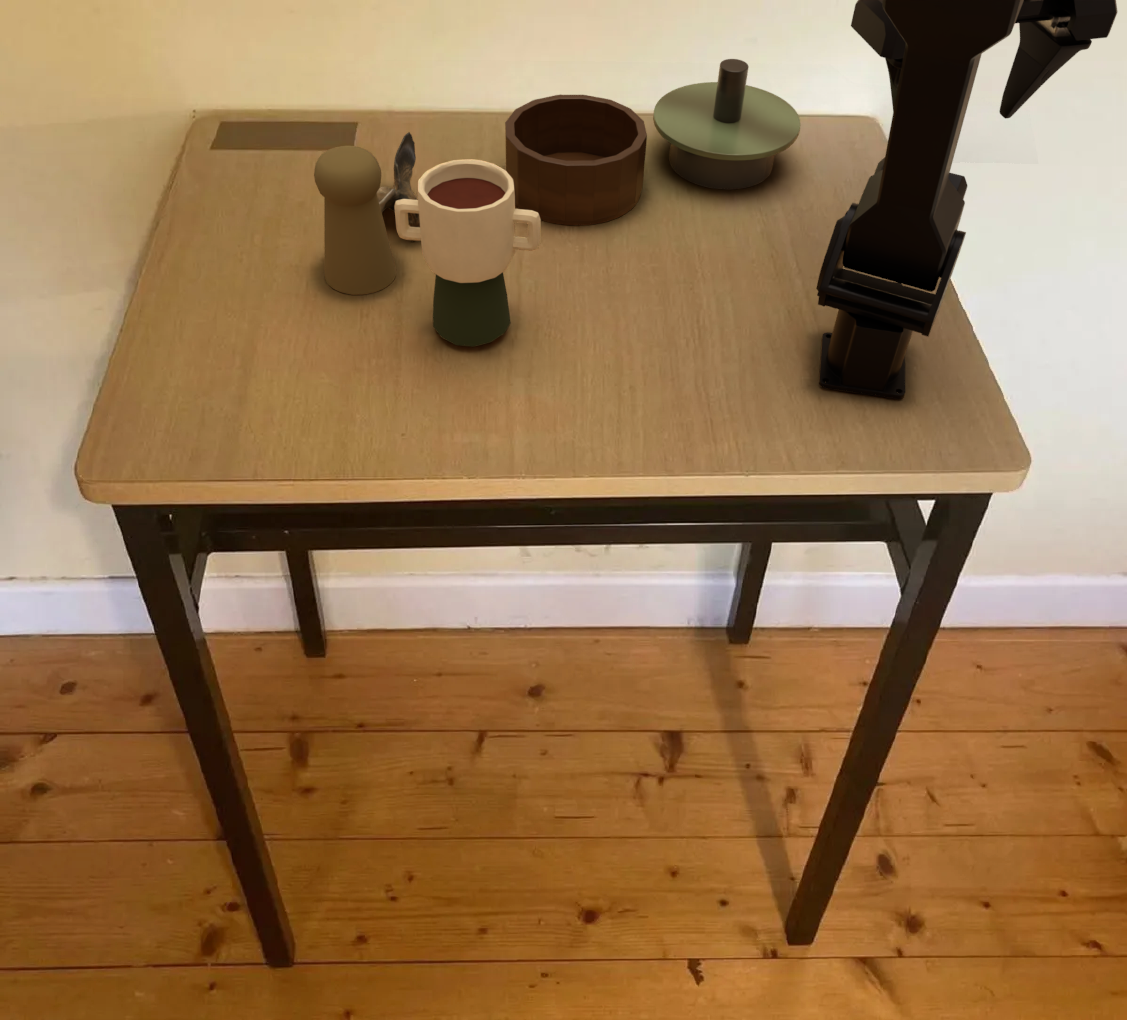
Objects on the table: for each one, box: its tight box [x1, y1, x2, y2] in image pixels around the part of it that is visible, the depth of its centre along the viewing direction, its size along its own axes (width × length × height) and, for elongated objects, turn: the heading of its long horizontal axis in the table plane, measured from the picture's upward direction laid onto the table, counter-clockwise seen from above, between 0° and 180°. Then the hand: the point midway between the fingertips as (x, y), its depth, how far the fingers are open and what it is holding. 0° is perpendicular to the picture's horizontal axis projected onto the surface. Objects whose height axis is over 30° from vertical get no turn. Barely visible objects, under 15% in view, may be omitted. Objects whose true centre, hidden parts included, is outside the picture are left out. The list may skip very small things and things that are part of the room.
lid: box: [652, 58, 802, 161], centre depth 104 cm, size 14×14×6 cm
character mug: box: [394, 158, 542, 348], centre depth 85 cm, size 11×7×13 cm, turn 83°
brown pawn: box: [313, 145, 397, 296], centre depth 91 cm, size 6×6×11 cm
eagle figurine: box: [377, 131, 420, 243], centre depth 98 cm, size 8×7×9 cm
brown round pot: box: [504, 94, 648, 226], centre depth 102 cm, size 13×13×6 cm
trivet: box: [669, 143, 776, 190], centre depth 107 cm, size 10×10×4 cm
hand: (952, 121), depth 89 cm, fingers open, 9 cm apart
